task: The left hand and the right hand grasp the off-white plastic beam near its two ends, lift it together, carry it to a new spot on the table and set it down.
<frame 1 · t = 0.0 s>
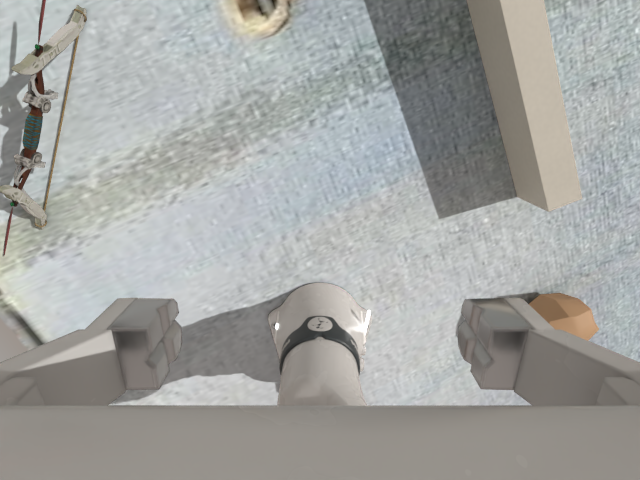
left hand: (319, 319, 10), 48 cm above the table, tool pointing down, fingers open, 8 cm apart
squash: (545, 330, 67), on the table
bow: (61, 128, 54), on the table
beam: (485, 2, 49), on the table
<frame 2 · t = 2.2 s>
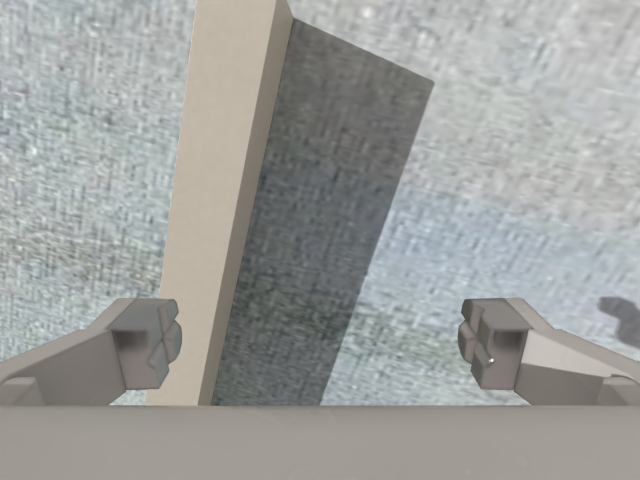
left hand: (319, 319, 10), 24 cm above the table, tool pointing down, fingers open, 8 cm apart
beam: (209, 306, 39), on the table
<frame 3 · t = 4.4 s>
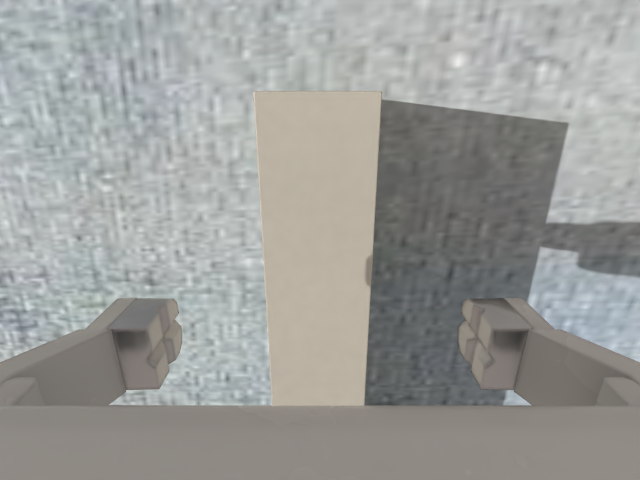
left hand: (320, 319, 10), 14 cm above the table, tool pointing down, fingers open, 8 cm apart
beam: (318, 453, 31), on the table, touching right hand
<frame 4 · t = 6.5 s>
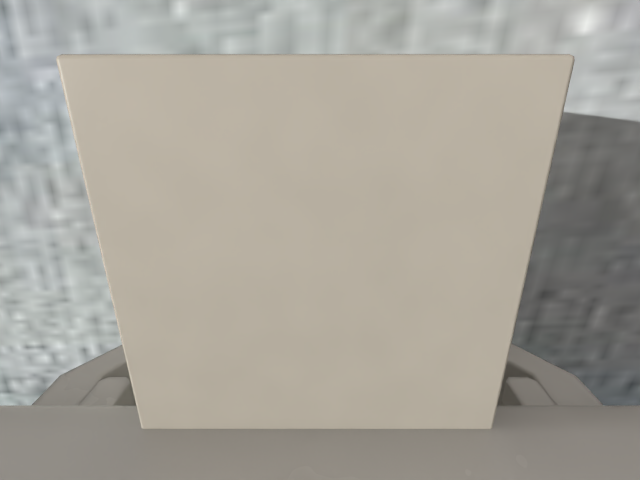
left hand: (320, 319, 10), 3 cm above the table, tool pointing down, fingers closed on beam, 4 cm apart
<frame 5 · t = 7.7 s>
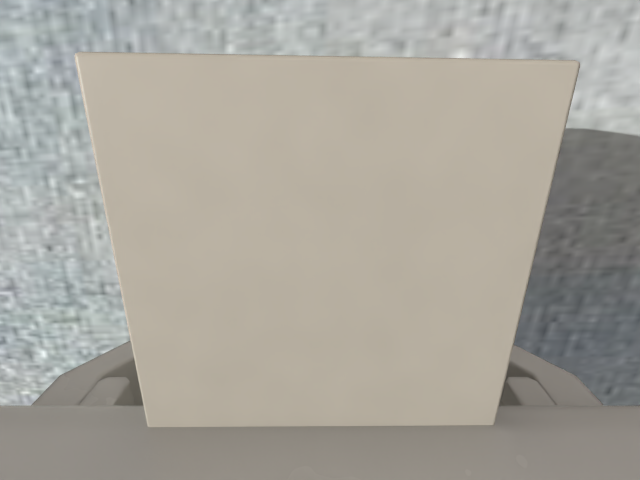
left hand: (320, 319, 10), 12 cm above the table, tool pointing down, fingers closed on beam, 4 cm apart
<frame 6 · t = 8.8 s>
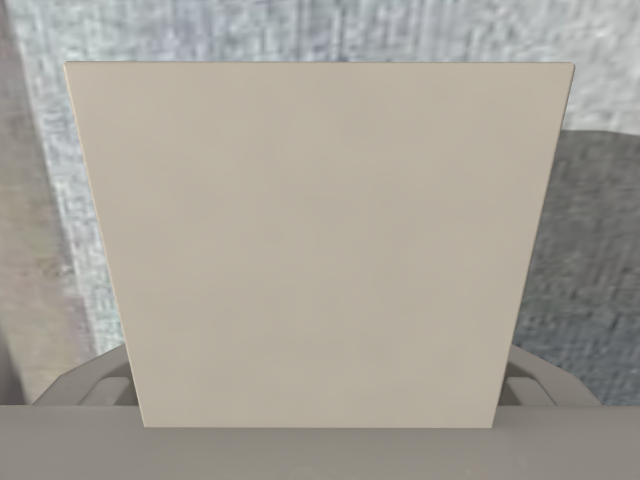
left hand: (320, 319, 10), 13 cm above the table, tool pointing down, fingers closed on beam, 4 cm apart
when the left hand's fingers open (5 cm above the table, at t = 11.2 s): beam stays where it is, on the table.
when the right hand's fingers open (5 cm above the table, at t = 11.2 s): beam stays where it is, on the table.
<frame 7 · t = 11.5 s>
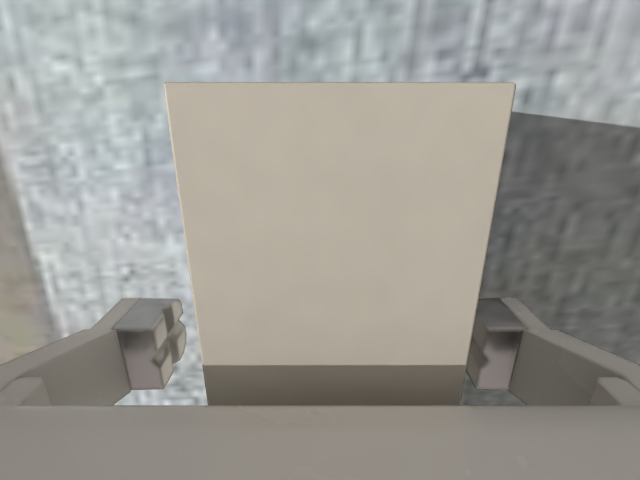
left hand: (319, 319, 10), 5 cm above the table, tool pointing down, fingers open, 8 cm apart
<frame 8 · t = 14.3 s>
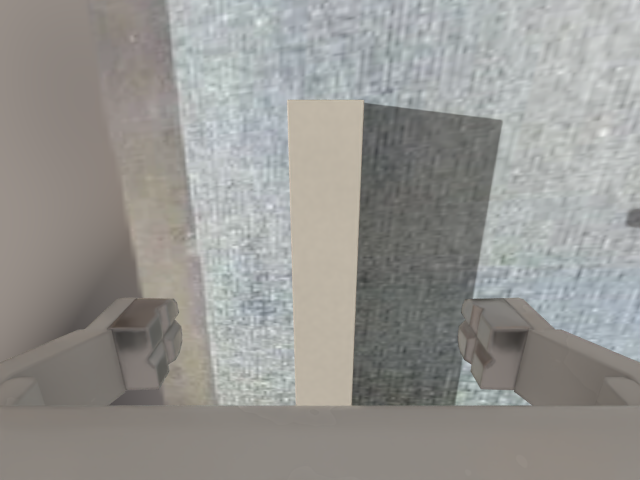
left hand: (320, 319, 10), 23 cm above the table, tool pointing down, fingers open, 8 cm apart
beam: (322, 378, 40), on the table
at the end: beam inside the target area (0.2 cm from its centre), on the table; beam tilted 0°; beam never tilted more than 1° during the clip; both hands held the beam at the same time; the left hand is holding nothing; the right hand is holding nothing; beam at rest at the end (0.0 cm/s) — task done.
